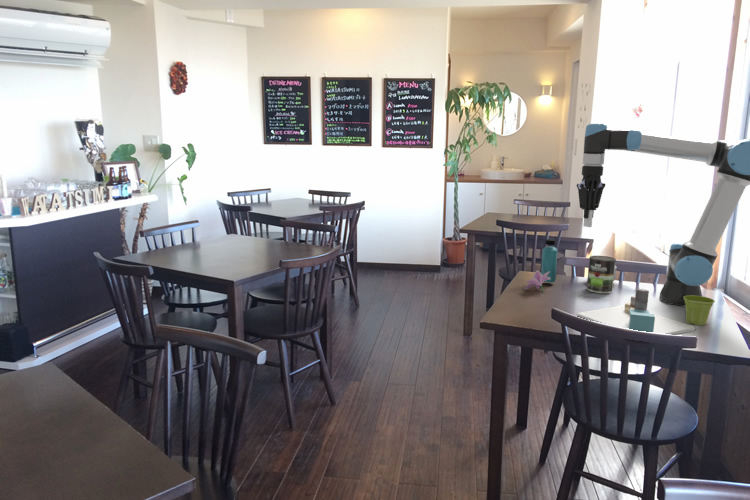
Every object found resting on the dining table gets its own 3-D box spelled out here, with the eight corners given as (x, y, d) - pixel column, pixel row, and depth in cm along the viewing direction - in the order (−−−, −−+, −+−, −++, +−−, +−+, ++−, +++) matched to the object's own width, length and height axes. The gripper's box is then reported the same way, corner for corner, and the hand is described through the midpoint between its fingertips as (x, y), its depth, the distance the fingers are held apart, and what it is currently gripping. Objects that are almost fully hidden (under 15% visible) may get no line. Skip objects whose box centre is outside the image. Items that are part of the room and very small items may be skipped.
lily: (554, 292, 233) (547, 271, 235) (559, 288, 222) (551, 266, 224) (527, 300, 234) (519, 279, 236) (530, 297, 223) (522, 274, 225)
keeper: (626, 320, 190) (628, 305, 189) (648, 323, 188) (650, 307, 187) (629, 330, 180) (631, 314, 179) (653, 333, 178) (655, 316, 177)
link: (622, 307, 205) (625, 281, 203) (640, 308, 203) (643, 282, 201) (636, 325, 184) (639, 296, 182) (655, 327, 183) (659, 298, 181)
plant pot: (691, 327, 187) (694, 302, 186) (674, 318, 197) (677, 295, 195) (717, 327, 188) (721, 302, 186) (700, 318, 197) (703, 295, 196)
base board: (624, 307, 209) (625, 304, 209) (694, 330, 184) (694, 327, 184) (576, 315, 198) (576, 313, 198) (643, 341, 174) (643, 338, 174)
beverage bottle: (557, 285, 240) (561, 240, 236) (542, 285, 239) (545, 240, 235) (552, 282, 246) (556, 238, 242) (537, 282, 246) (541, 238, 242)
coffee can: (607, 295, 226) (611, 261, 223) (582, 290, 233) (585, 257, 230) (616, 290, 234) (619, 257, 231) (591, 285, 240) (594, 254, 238)
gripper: (597, 164, 215) (592, 224, 220) (572, 165, 210) (567, 226, 214) (613, 165, 209) (607, 227, 213) (588, 165, 203) (582, 229, 208)
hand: (587, 226), depth 214 cm, fingers closed
